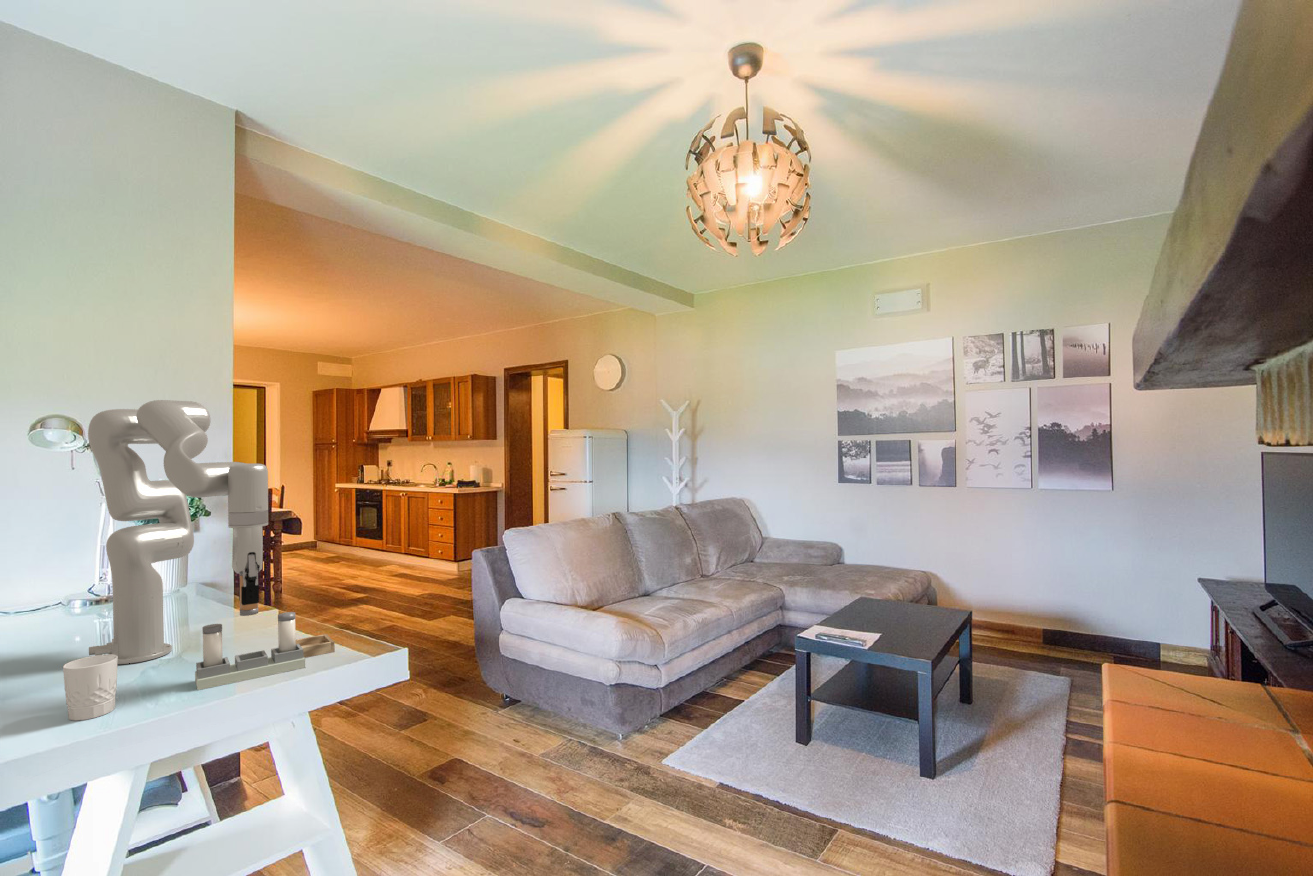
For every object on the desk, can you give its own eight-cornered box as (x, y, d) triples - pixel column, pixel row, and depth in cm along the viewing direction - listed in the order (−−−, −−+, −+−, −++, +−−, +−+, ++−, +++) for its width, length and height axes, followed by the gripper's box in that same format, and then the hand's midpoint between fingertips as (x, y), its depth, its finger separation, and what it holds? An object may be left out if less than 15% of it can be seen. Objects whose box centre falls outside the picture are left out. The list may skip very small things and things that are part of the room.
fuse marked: (240, 616, 141) (240, 571, 141) (238, 613, 144) (238, 568, 144) (259, 614, 143) (259, 568, 143) (257, 610, 146) (256, 566, 146)
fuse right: (279, 661, 145) (279, 617, 145) (277, 657, 148) (276, 614, 148) (297, 658, 147) (296, 614, 147) (294, 654, 150) (293, 611, 150)
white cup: (128, 707, 126) (127, 656, 126) (81, 724, 119) (80, 670, 119) (101, 703, 129) (100, 652, 129) (53, 719, 121) (52, 666, 121)
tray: (295, 659, 152) (295, 649, 152) (288, 650, 159) (288, 641, 159) (334, 651, 158) (334, 641, 158) (326, 643, 164) (326, 634, 164)
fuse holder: (197, 690, 134) (197, 671, 134) (195, 680, 140) (194, 662, 140) (305, 667, 147) (304, 650, 147) (299, 659, 152) (299, 642, 152)
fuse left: (203, 676, 137) (203, 629, 137) (202, 672, 139) (201, 626, 139) (223, 672, 139) (222, 626, 139) (222, 668, 141) (221, 622, 141)
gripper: (224, 517, 147) (225, 597, 148) (232, 524, 135) (232, 613, 135) (262, 514, 152) (263, 592, 152) (273, 521, 139) (274, 607, 139)
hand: (249, 601), depth 143 cm, fingers closed on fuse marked, 3 cm apart
